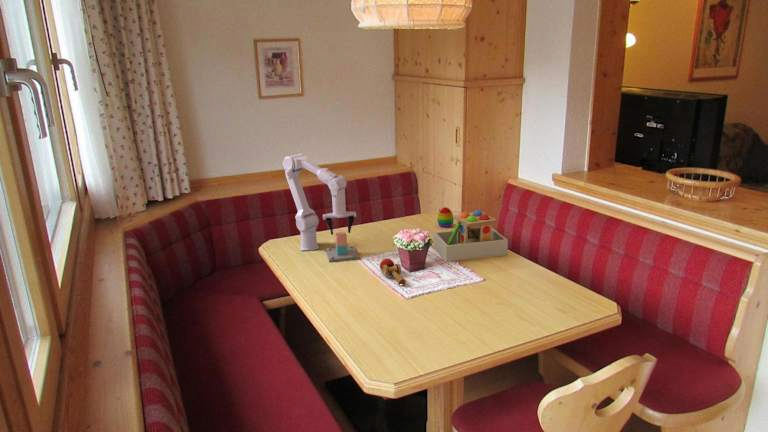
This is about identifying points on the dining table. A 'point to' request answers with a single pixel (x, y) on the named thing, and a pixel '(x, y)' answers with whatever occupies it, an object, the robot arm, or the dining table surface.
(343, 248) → the teal brick
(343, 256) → the baseplate
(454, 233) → the pounding bench toy
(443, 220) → the decorative egg
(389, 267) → the kendama
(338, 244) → the terracotta brick
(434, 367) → the dining table surface
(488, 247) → the toy tray
